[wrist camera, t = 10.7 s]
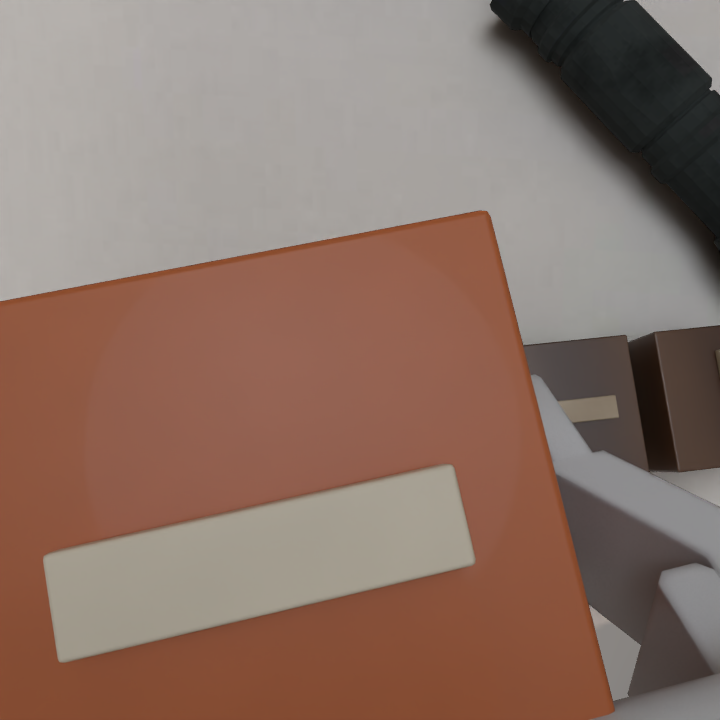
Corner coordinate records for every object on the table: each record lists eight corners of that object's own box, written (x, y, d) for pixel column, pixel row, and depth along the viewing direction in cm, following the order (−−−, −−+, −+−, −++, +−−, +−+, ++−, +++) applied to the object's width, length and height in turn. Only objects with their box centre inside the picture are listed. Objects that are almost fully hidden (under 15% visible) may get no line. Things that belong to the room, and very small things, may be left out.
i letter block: (219, 619, 14) (-34, 1020, 4) (182, 413, 15) (-121, 306, 5) (422, 571, 15) (665, 824, 4) (378, 372, 15) (500, 191, 5)
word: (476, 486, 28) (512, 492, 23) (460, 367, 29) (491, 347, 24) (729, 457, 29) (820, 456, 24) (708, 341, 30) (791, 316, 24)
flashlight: (791, 376, 30) (886, 360, 25) (471, 37, 31) (500, -43, 26) (864, 304, 30) (971, 273, 25) (548, -24, 32) (590, -114, 27)
